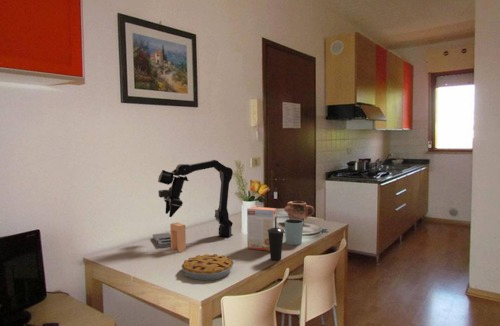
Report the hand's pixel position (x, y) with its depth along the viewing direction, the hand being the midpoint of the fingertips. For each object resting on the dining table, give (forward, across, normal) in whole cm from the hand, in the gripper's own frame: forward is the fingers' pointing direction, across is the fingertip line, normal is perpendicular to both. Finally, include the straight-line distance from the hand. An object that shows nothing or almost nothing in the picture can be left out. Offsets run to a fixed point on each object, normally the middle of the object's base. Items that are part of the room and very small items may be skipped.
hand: (168, 215), depth 195 cm
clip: (+14, +13, +7) cm, 20 cm away
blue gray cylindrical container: (-5, +28, +62) cm, 69 cm away
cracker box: (+2, +30, +44) cm, 53 cm away
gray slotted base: (+15, -4, +3) cm, 16 cm away
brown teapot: (-13, -8, +87) cm, 89 cm away
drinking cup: (+2, +47, +42) cm, 63 cm away
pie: (+13, +48, +11) cm, 50 cm away
